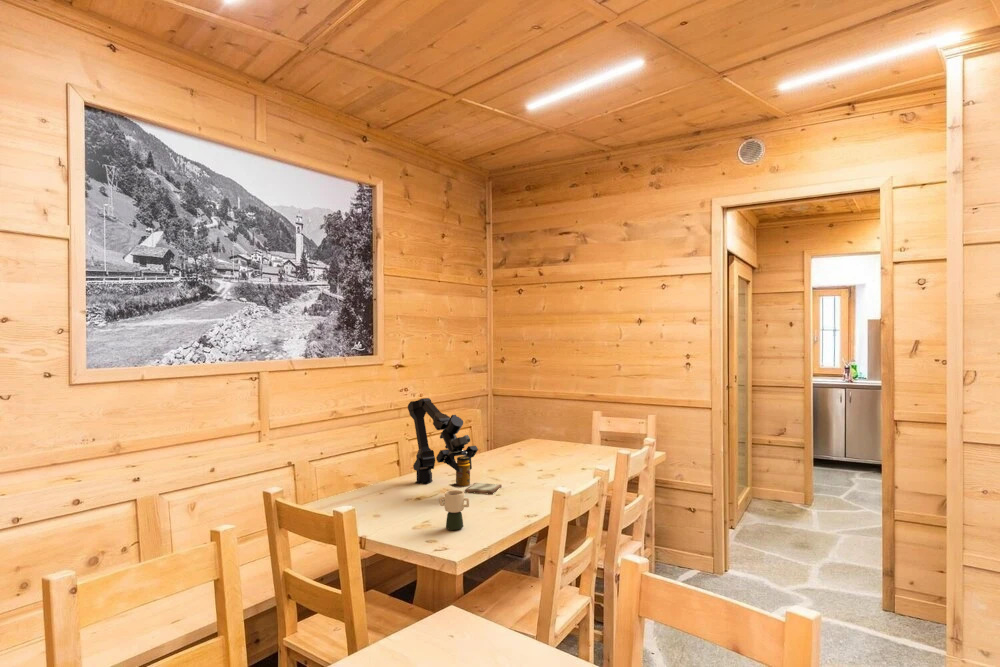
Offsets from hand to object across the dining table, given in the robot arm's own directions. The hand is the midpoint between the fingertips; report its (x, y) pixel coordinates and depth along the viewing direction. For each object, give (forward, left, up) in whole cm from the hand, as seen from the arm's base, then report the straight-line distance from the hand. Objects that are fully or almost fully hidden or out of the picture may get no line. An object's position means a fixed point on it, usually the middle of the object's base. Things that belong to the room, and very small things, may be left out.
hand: (464, 470), depth 245 cm
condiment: (-2, 0, -7) cm, 7 cm away
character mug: (+11, -38, -12) cm, 42 cm away
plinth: (+3, +16, -12) cm, 20 cm away
